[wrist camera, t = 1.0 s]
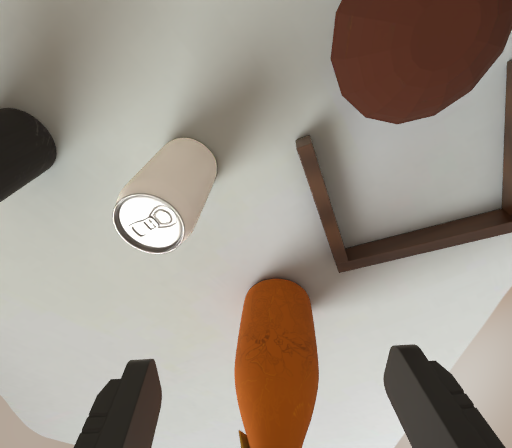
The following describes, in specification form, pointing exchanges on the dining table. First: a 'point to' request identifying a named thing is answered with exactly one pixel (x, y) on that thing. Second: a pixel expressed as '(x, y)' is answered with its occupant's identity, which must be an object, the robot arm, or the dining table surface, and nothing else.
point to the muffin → (415, 53)
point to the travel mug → (22, 150)
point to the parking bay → (419, 240)
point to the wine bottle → (276, 365)
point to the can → (166, 197)
